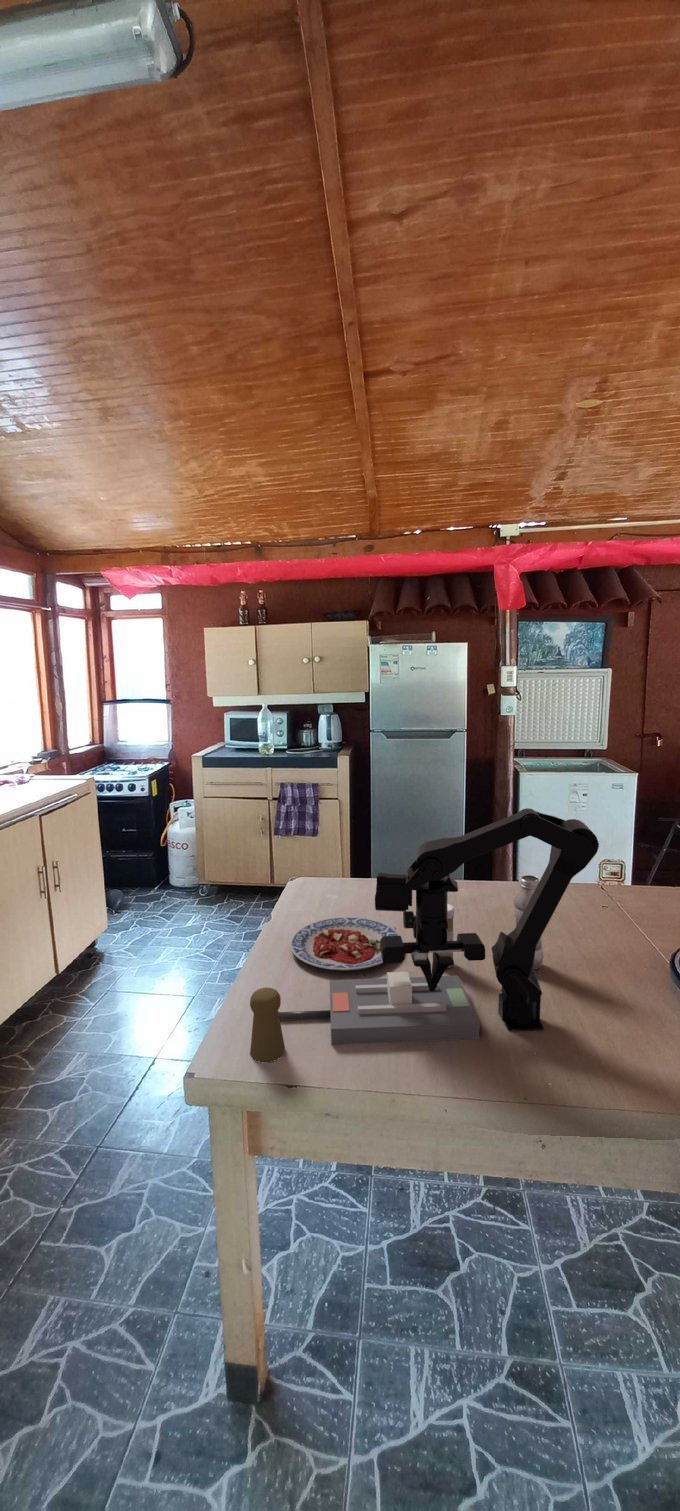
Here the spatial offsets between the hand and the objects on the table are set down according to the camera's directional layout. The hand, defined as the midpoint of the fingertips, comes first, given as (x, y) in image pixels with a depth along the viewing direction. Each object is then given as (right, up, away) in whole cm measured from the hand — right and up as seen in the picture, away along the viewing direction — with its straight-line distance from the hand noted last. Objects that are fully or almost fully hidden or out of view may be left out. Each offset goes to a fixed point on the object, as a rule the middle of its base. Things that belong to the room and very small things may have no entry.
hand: (431, 990), depth 110 cm
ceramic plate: (-16, -1, +27) cm, 31 cm away
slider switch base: (-11, -5, 0) cm, 12 cm away
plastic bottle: (+23, -2, +17) cm, 29 cm away
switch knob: (-6, -2, 0) cm, 6 cm away
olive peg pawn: (-30, -7, -9) cm, 32 cm away
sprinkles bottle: (+5, -2, +19) cm, 20 cm away
